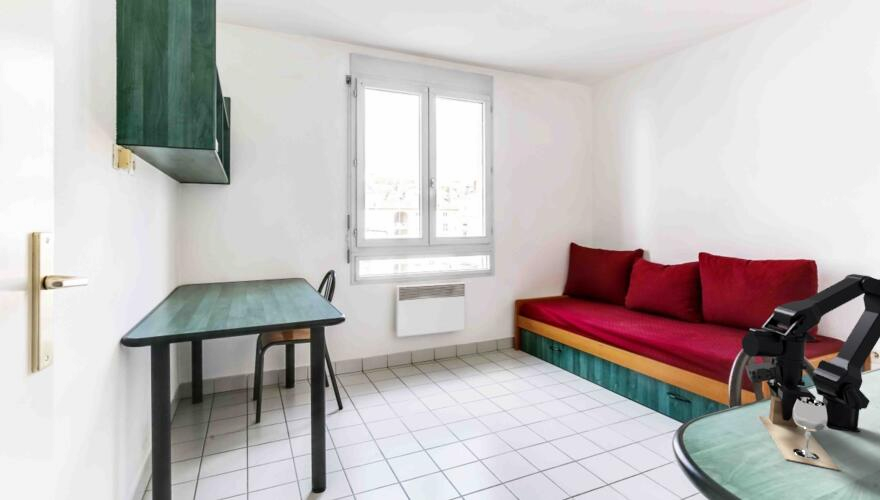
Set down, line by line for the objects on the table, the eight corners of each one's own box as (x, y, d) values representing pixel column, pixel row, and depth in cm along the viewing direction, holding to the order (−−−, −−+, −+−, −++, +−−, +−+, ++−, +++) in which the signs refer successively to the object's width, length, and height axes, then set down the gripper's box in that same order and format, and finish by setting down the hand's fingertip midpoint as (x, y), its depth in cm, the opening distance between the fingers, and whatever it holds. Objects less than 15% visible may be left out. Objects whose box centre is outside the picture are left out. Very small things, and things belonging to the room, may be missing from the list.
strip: (802, 424, 109) (804, 400, 109) (840, 470, 89) (843, 441, 89) (759, 416, 113) (761, 393, 112) (786, 459, 93) (788, 431, 92)
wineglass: (830, 463, 91) (835, 408, 90) (798, 460, 92) (804, 405, 91) (812, 449, 97) (817, 397, 96) (783, 446, 98) (788, 394, 97)
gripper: (741, 342, 119) (737, 397, 121) (760, 363, 102) (754, 426, 104) (791, 348, 115) (786, 405, 116) (819, 370, 98) (813, 437, 99)
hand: (783, 417), depth 109 cm, fingers closed on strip, 3 cm apart
